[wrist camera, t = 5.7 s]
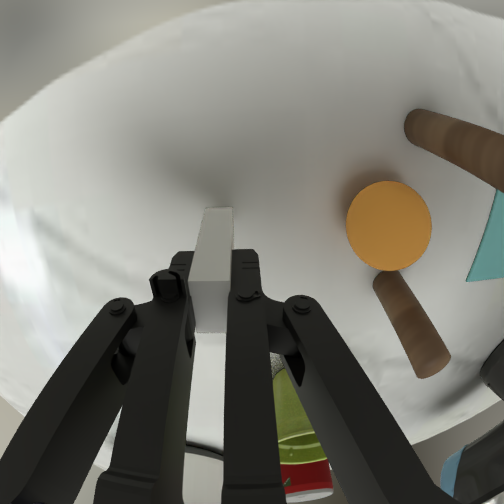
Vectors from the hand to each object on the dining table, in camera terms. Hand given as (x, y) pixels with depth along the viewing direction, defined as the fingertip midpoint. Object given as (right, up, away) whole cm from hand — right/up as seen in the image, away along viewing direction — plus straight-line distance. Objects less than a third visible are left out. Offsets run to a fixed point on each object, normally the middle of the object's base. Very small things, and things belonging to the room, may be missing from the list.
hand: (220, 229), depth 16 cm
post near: (+13, +7, -1) cm, 15 cm away
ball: (+10, 0, 0) cm, 10 cm away
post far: (+13, -4, +6) cm, 15 cm away
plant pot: (+7, -14, +13) cm, 20 cm away
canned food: (+9, -30, +22) cm, 38 cm away
